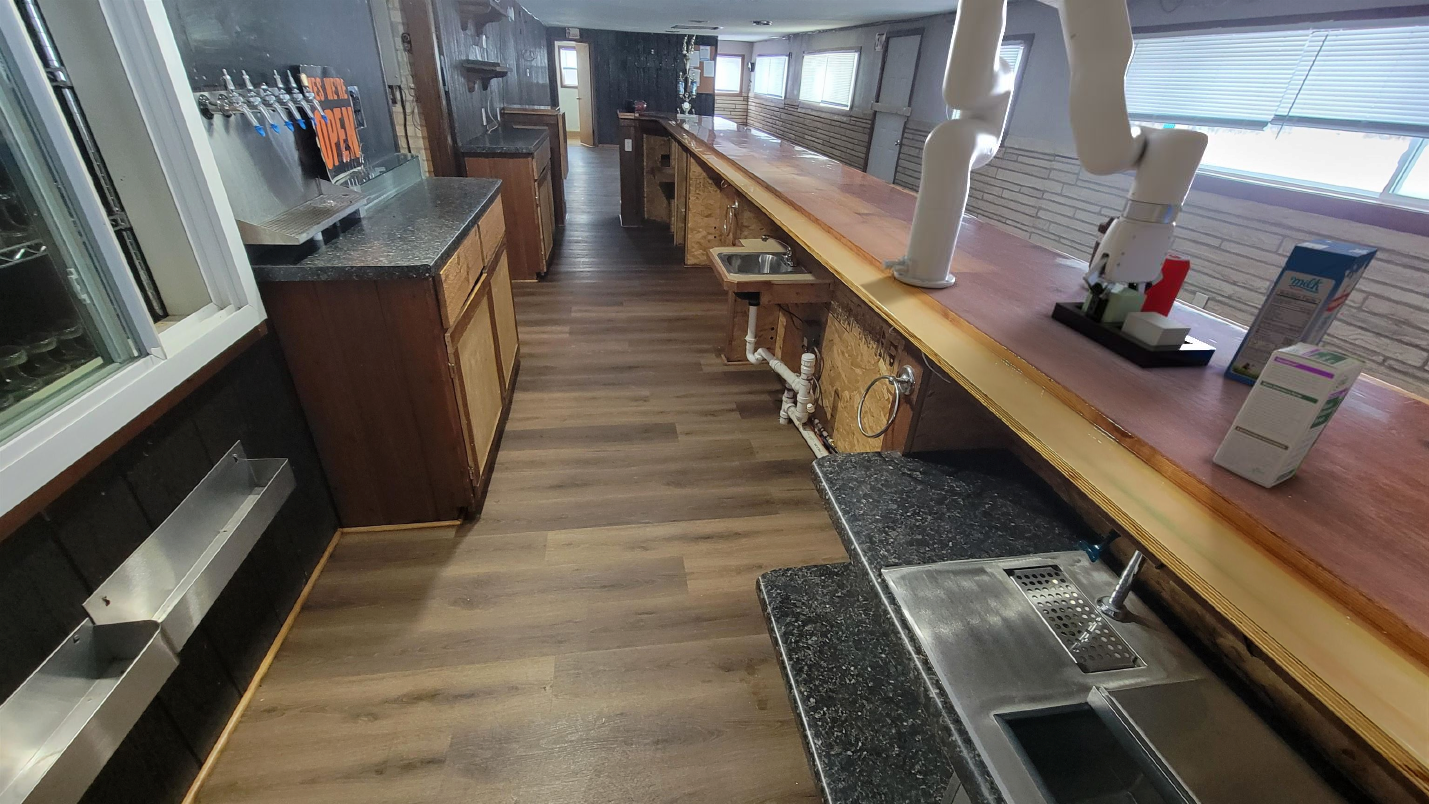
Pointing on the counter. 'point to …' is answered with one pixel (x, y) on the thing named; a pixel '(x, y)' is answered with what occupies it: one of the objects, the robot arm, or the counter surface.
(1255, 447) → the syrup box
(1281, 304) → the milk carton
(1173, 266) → the beverage can
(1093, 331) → the frame
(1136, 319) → the light grey block
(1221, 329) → the counter surface
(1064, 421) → the counter surface
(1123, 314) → the pale green block
